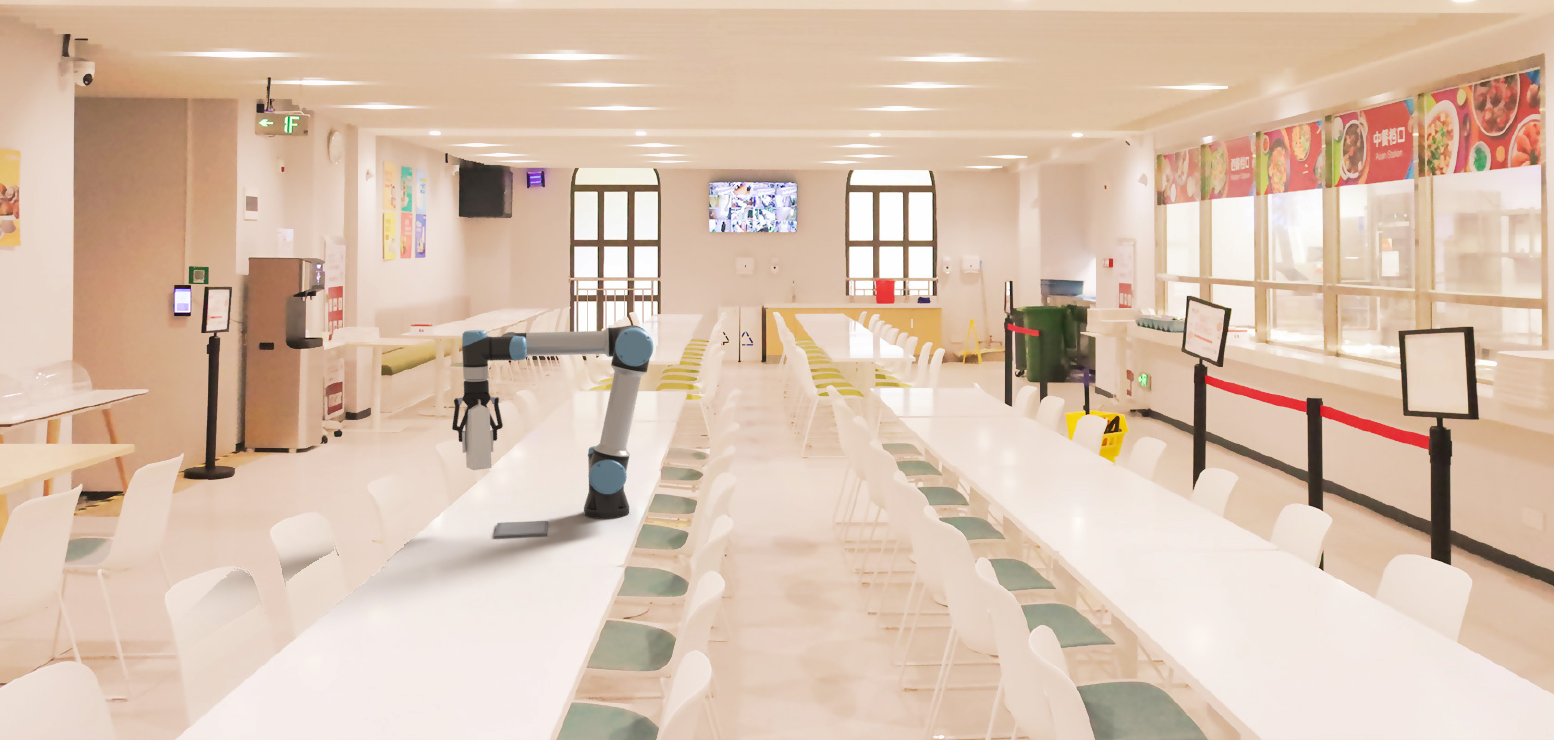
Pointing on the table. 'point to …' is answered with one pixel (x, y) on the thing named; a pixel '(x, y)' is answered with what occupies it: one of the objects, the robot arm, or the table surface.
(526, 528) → the mat
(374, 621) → the table surface
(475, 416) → the milk
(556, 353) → the robot arm
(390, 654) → the table surface
